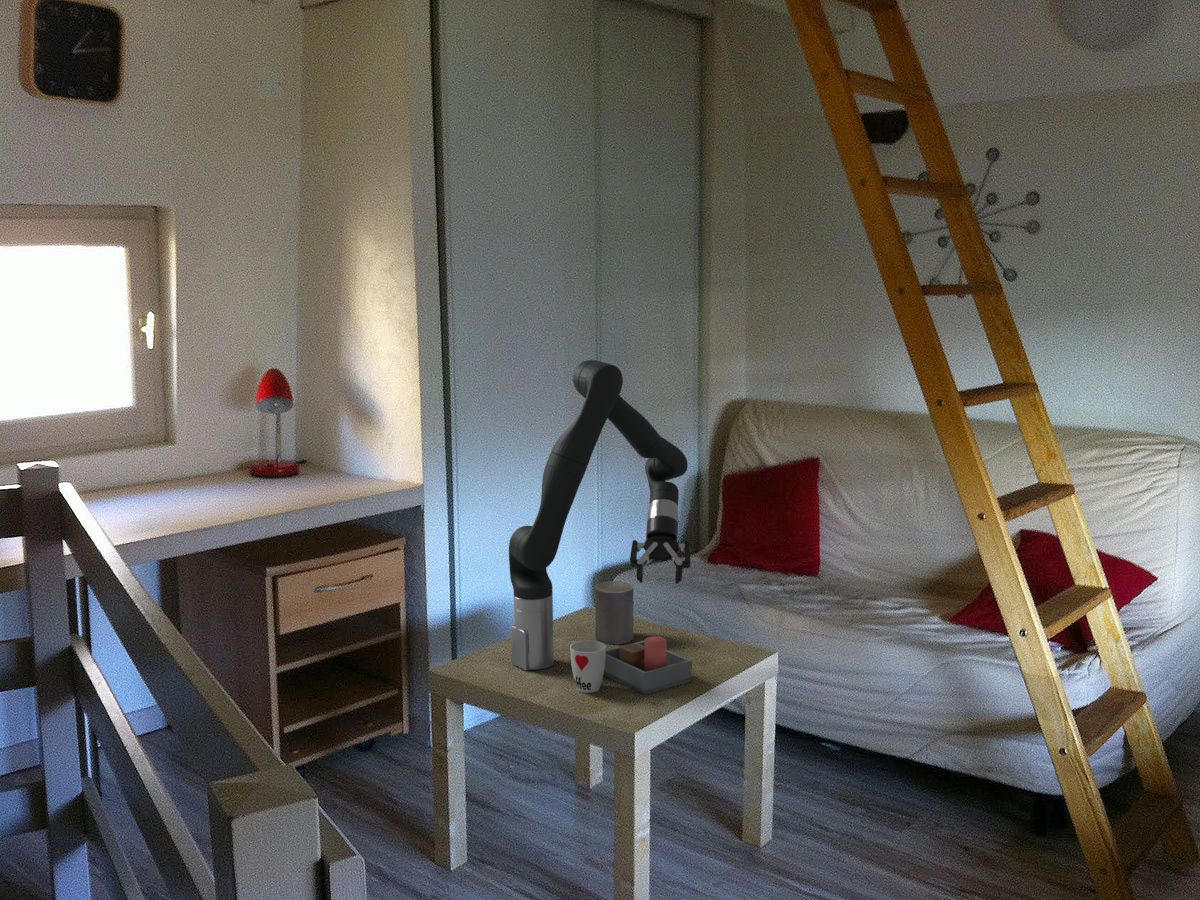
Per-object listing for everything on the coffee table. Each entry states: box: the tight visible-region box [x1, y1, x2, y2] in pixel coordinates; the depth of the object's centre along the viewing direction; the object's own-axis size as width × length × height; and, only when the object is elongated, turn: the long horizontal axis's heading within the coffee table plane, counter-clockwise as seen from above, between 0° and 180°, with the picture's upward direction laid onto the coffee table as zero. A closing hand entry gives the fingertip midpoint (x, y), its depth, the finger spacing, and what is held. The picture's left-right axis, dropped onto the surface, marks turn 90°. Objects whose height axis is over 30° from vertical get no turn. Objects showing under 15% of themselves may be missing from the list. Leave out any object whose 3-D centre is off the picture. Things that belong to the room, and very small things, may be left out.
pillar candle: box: [594, 580, 634, 645], centre depth 311 cm, size 10×10×15 cm
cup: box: [569, 640, 607, 694], centre depth 278 cm, size 8×8×10 cm
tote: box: [603, 640, 693, 696], centre depth 285 cm, size 14×18×5 cm
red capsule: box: [643, 636, 668, 672], centre depth 281 cm, size 5×5×9 cm
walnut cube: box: [618, 642, 645, 671], centre depth 288 cm, size 5×5×5 cm
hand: (658, 581), depth 289 cm, fingers open, 8 cm apart
